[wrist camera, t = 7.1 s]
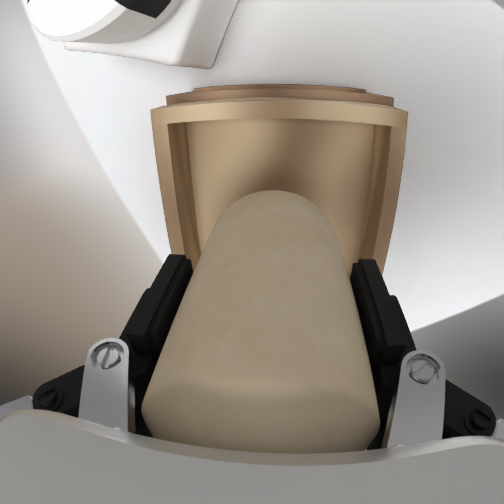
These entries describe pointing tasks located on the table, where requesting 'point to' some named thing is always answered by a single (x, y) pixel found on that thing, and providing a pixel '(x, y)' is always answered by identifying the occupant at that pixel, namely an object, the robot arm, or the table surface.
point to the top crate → (281, 165)
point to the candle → (266, 340)
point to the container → (137, 28)
